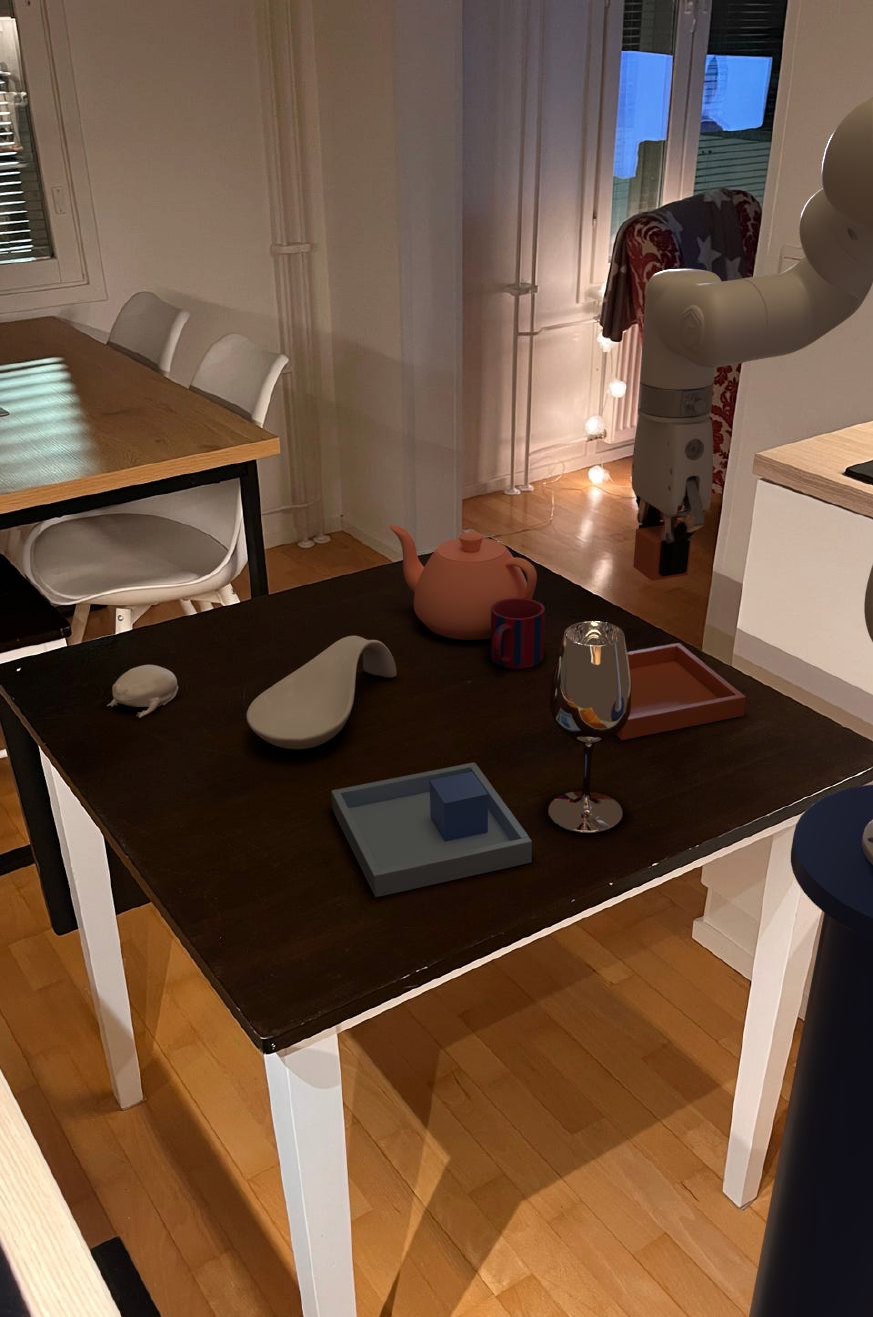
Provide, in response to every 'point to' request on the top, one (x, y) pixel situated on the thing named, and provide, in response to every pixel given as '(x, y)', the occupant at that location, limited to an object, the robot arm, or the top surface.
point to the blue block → (458, 806)
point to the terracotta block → (651, 552)
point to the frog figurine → (145, 688)
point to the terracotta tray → (676, 692)
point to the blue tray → (422, 833)
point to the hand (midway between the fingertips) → (661, 563)
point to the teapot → (463, 583)
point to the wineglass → (590, 714)
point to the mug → (517, 633)
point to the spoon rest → (317, 695)
